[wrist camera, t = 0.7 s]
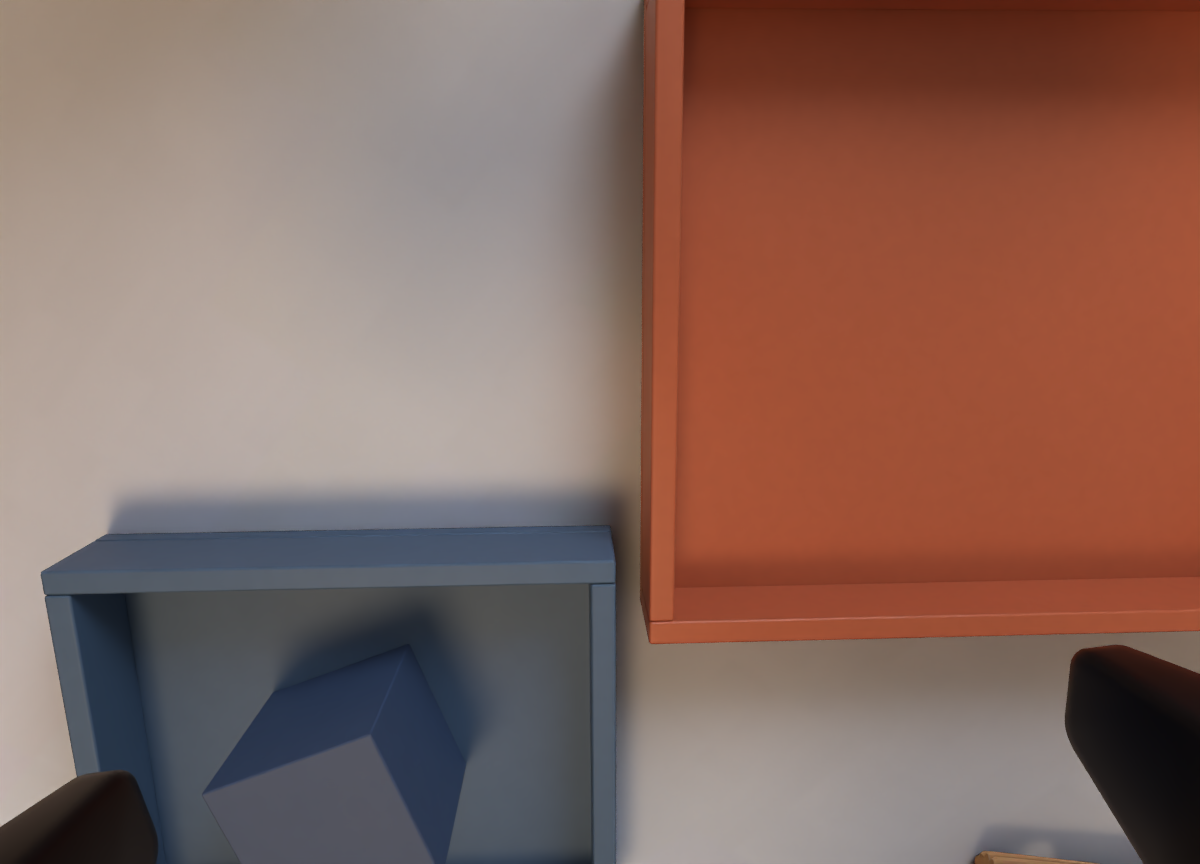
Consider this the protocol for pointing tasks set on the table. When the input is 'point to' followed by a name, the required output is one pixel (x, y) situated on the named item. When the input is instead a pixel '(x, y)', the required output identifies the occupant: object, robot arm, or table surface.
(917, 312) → the terracotta tray
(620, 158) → the table surface
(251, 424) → the table surface
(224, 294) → the table surface
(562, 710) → the blue tray
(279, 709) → the blue block
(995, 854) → the paintbrush
